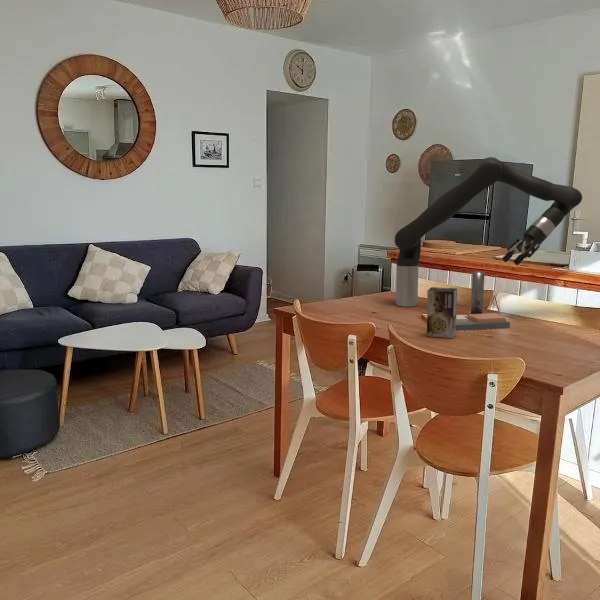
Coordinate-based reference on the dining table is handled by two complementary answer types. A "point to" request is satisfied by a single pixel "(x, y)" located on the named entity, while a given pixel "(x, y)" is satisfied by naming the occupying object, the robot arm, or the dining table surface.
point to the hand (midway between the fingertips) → (509, 262)
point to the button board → (481, 325)
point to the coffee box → (441, 312)
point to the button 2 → (486, 318)
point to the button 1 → (461, 319)
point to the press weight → (477, 292)
